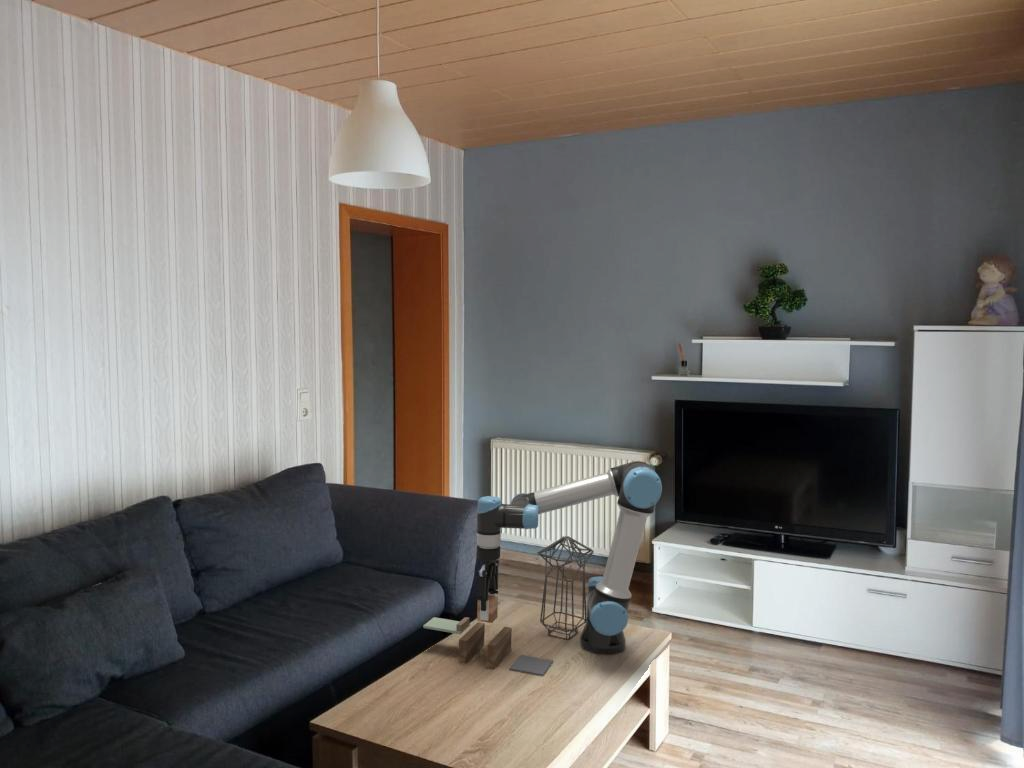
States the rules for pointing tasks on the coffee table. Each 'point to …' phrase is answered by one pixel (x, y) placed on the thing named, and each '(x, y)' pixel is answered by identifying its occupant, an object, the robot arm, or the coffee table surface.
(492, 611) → the block
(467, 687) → the coffee table surface
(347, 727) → the coffee table surface
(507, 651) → the brown parallel walls
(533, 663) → the mat
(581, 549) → the geometric lantern
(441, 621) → the cover
